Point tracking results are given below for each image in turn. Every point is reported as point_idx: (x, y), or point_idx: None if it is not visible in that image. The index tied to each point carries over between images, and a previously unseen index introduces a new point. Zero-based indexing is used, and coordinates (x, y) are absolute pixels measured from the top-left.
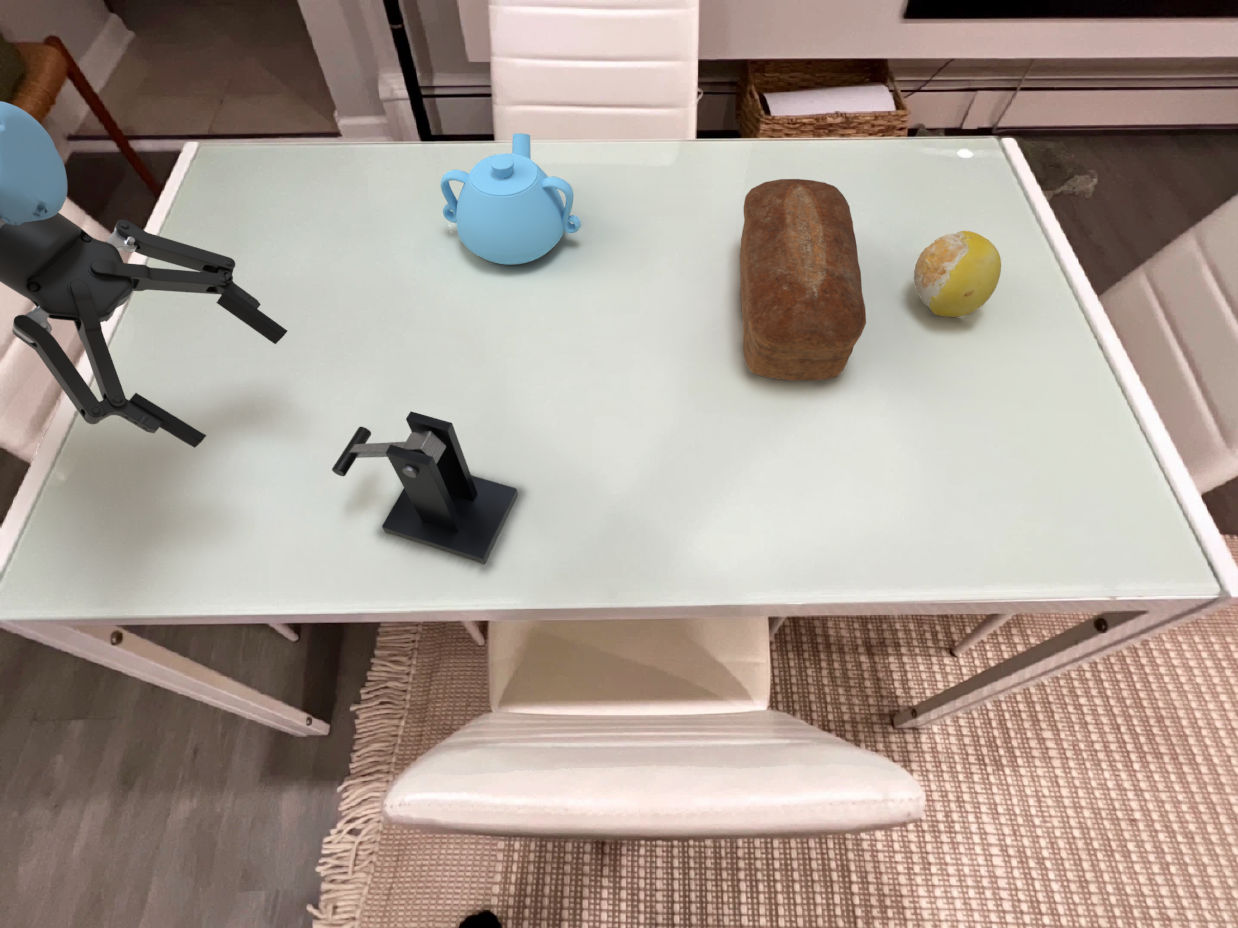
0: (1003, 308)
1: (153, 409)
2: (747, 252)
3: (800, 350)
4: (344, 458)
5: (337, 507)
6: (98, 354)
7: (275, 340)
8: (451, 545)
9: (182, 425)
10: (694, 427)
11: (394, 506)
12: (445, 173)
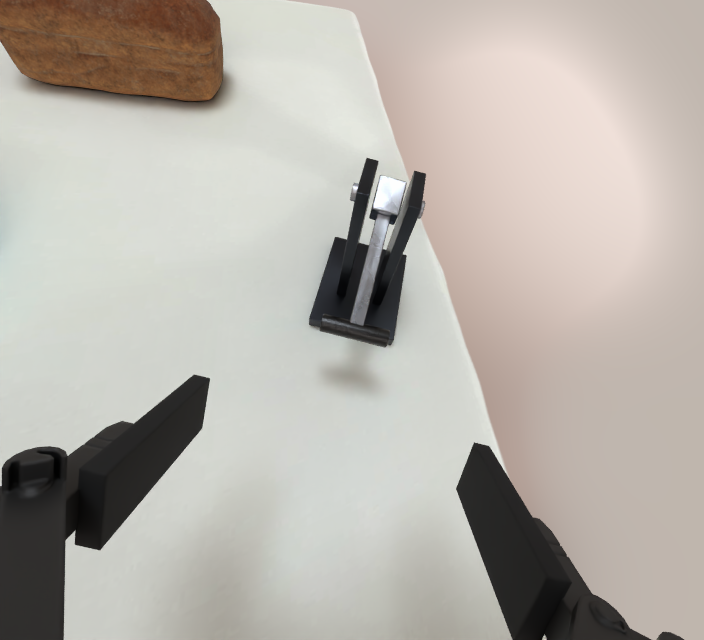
0: None
1: (532, 525)
2: (94, 16)
3: (217, 37)
4: (373, 328)
5: (370, 402)
6: None
7: (201, 417)
8: (399, 278)
9: (498, 473)
10: (260, 139)
11: None
12: None
